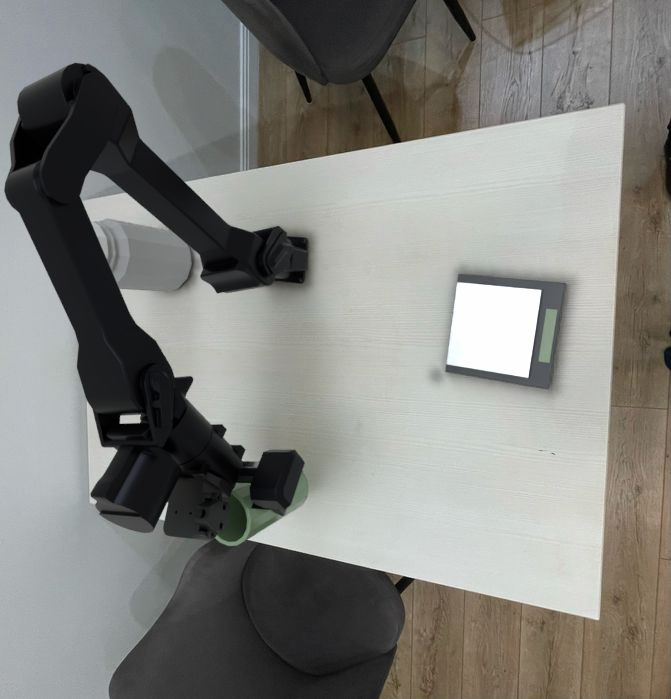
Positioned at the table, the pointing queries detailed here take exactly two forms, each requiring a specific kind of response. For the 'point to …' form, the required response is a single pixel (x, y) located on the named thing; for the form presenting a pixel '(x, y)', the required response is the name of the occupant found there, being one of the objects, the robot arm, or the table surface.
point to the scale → (505, 329)
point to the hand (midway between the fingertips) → (260, 510)
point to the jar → (143, 255)
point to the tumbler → (254, 513)
